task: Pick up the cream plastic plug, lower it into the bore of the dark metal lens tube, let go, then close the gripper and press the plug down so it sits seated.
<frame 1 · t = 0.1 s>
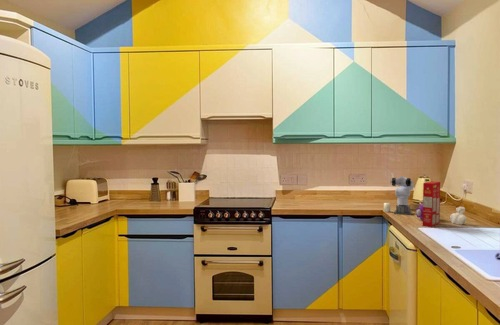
hand: (400, 182, 297), 22 cm above the counter, tool horizontal, fingers open, 7 cm apart
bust: (458, 224, 262), on the counter
food packaging: (431, 224, 259), on the counter
toy camera: (426, 220, 275), on the counter
plug: (386, 211, 306), on the counter
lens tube: (403, 213, 299), on the counter
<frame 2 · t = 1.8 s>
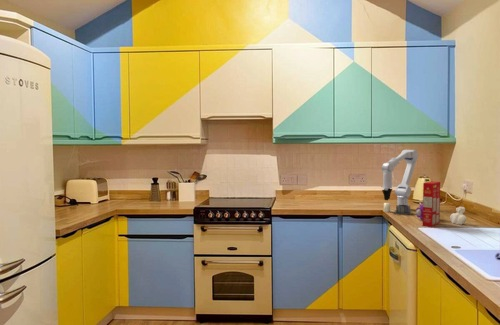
hand: (387, 199, 305), 9 cm above the counter, tool pointing down, fingers open, 7 cm apart
nothing on the counter moved.
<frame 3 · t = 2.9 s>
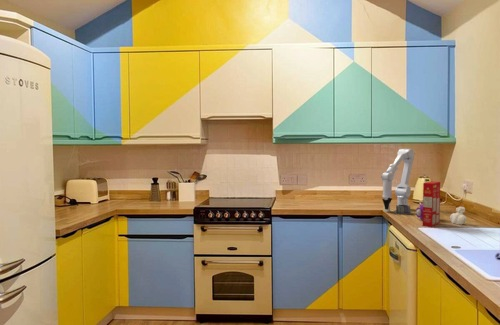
hand: (387, 208, 306), 2 cm above the counter, tool pointing down, fingers closed on plug, 4 cm apart
plug: (386, 211, 306), on the counter, touching gripper
everything else where it was.
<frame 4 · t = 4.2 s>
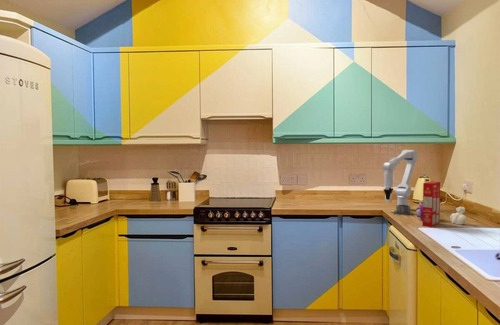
hand: (388, 199, 305), 9 cm above the counter, tool pointing down, fingers closed on plug, 4 cm apart
plug: (388, 201, 305), point 7 cm above the counter, touching gripper
everything else where it was.
when the fingers open (6 cm above the counter, at t = 5.8 s): plug drops 1 cm, resting on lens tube.
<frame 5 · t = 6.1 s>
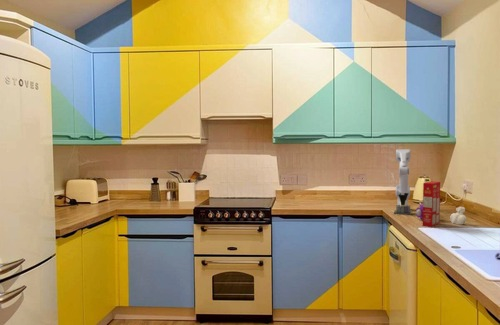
hand: (403, 204, 299), 6 cm above the counter, tool pointing down, fingers open, 7 cm apart
plug: (403, 209, 299), point 3 cm above the counter, touching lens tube
everything else where it was.
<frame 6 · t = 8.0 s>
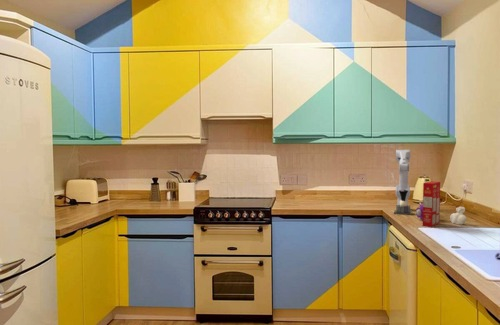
hand: (403, 200, 299), 9 cm above the counter, tool pointing down, fingers closed, pressing on plug
plug: (403, 209, 299), point 3 cm above the counter, touching gripper, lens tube
everything else where it was.
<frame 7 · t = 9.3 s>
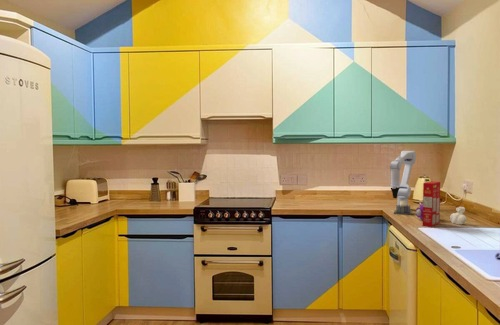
hand: (395, 198, 303), 10 cm above the counter, tool pointing down, fingers closed
plug: (403, 209, 299), point 3 cm above the counter, touching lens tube
everything else where it was.
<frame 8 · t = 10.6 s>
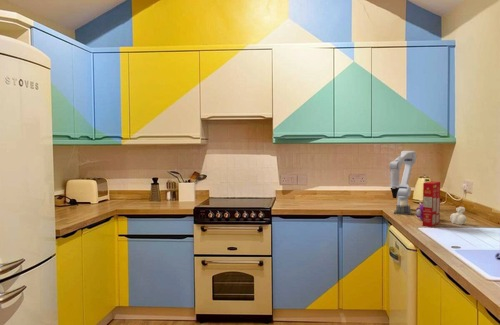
hand: (394, 198, 303), 10 cm above the counter, tool pointing down, fingers closed
nothing on the counter moved.
at the end: plug 0.1 cm off-centre on the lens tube, point 2.7 cm above the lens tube's base; plug tilted 0°; the gripper is holding nothing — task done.
